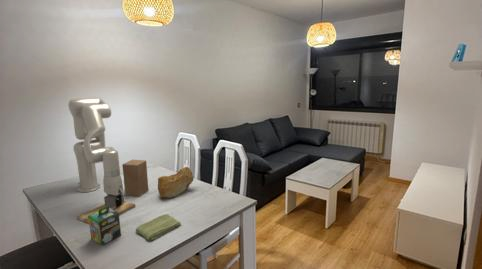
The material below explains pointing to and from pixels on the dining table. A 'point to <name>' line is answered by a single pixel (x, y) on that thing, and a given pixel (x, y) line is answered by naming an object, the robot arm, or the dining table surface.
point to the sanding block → (111, 201)
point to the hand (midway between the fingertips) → (115, 204)
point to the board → (120, 209)
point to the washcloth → (157, 227)
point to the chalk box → (104, 225)
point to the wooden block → (135, 177)
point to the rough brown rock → (175, 183)
